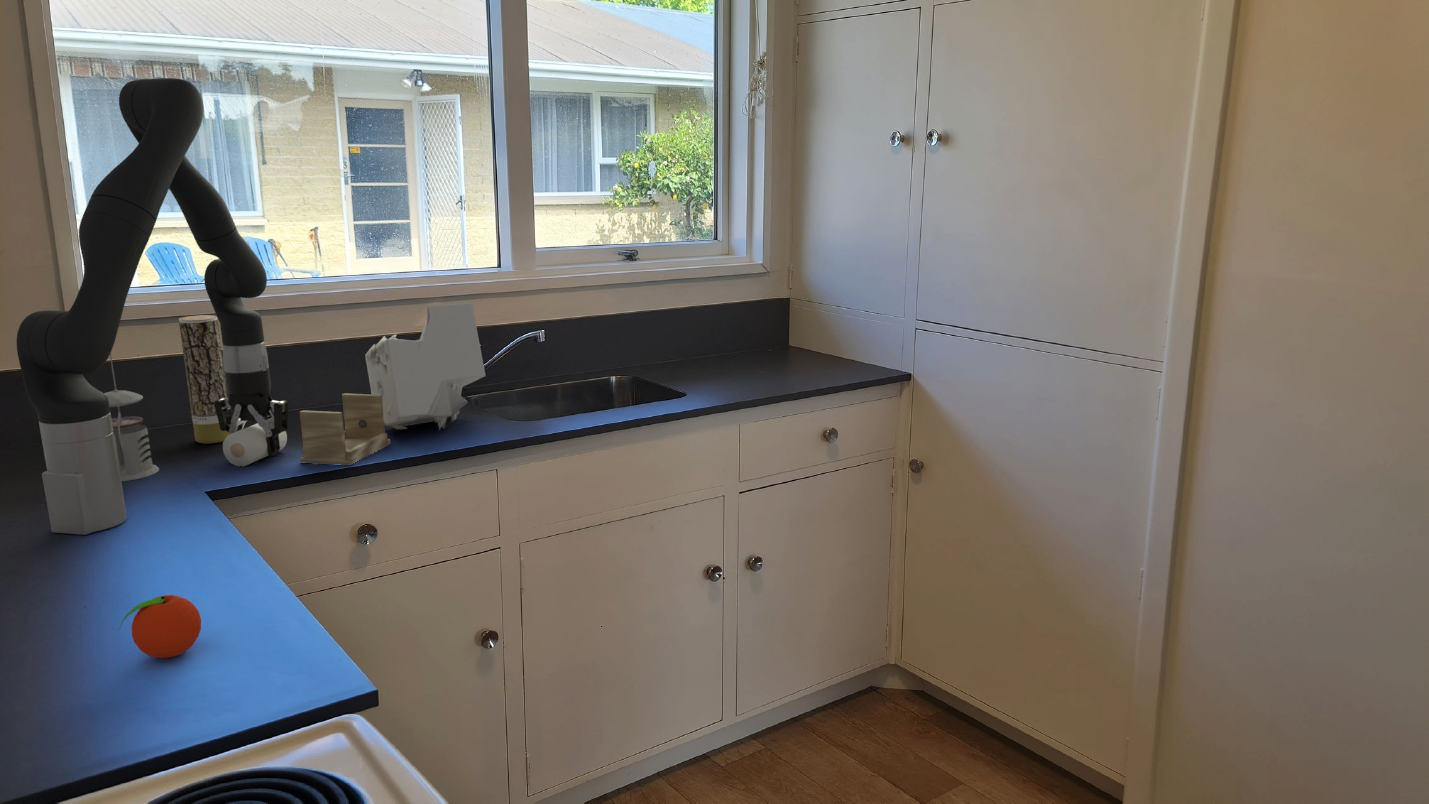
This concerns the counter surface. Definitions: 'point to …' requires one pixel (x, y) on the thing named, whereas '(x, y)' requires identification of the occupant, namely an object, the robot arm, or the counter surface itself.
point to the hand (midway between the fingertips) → (257, 453)
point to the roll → (248, 445)
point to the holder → (337, 445)
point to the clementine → (165, 626)
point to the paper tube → (204, 374)
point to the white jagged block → (427, 368)
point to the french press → (130, 437)
